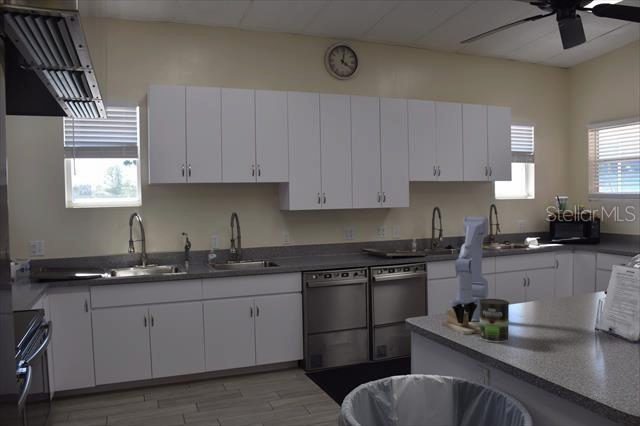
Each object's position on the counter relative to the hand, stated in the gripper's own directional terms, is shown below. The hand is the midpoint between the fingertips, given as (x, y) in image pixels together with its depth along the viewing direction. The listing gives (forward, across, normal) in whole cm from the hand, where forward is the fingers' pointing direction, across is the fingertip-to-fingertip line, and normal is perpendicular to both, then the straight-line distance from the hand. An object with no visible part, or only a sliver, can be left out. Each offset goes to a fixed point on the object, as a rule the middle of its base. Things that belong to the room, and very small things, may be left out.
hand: (464, 322), depth 202 cm
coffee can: (+3, +2, +16) cm, 17 cm away
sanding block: (+1, 0, -4) cm, 4 cm away
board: (+3, -1, 0) cm, 3 cm away
